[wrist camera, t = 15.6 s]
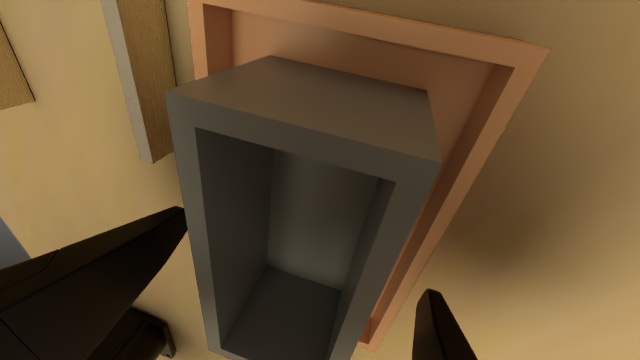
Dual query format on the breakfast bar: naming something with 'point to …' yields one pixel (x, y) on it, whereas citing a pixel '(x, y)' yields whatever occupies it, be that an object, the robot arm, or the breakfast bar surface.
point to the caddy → (297, 200)
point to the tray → (393, 66)
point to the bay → (122, 71)
